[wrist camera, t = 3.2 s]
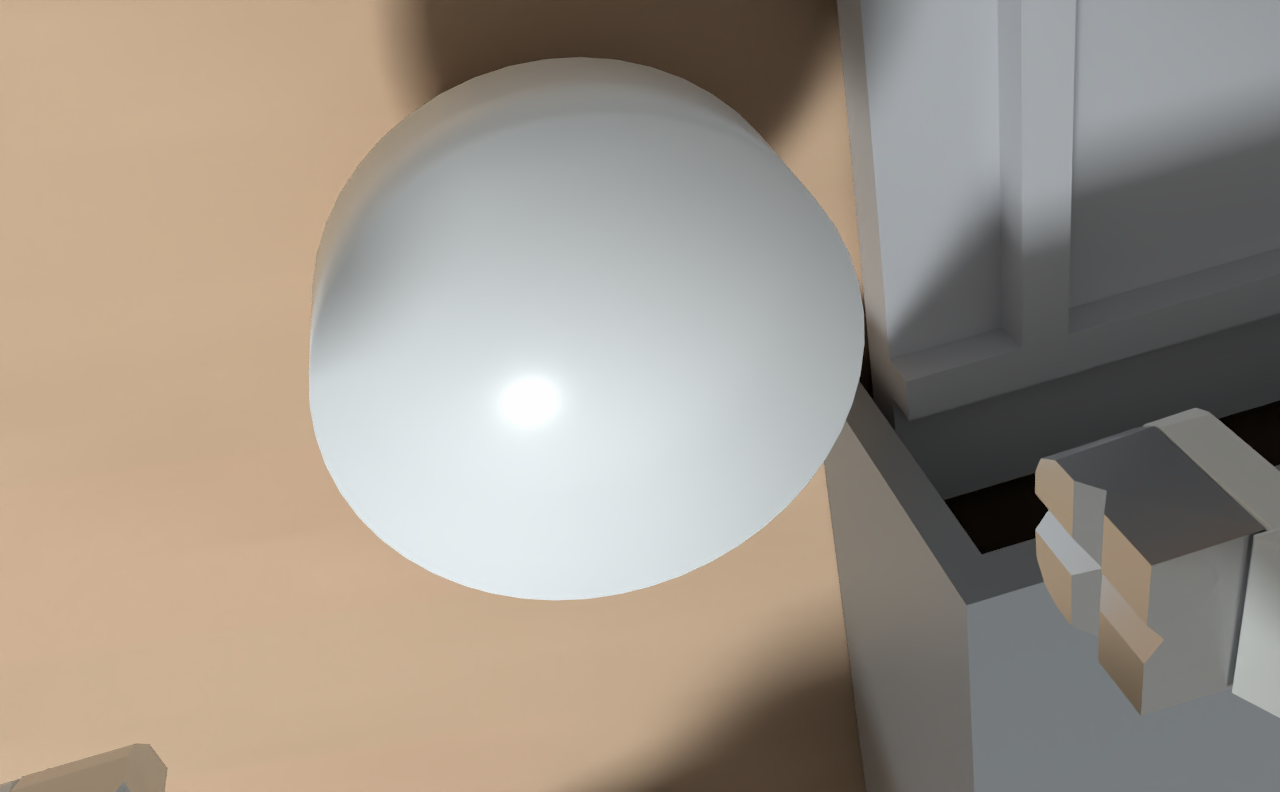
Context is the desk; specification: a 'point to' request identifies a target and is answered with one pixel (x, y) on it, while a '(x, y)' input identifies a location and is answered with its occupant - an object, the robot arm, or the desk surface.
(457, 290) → the disc
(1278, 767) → the housing
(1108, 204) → the tray
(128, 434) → the desk surface
